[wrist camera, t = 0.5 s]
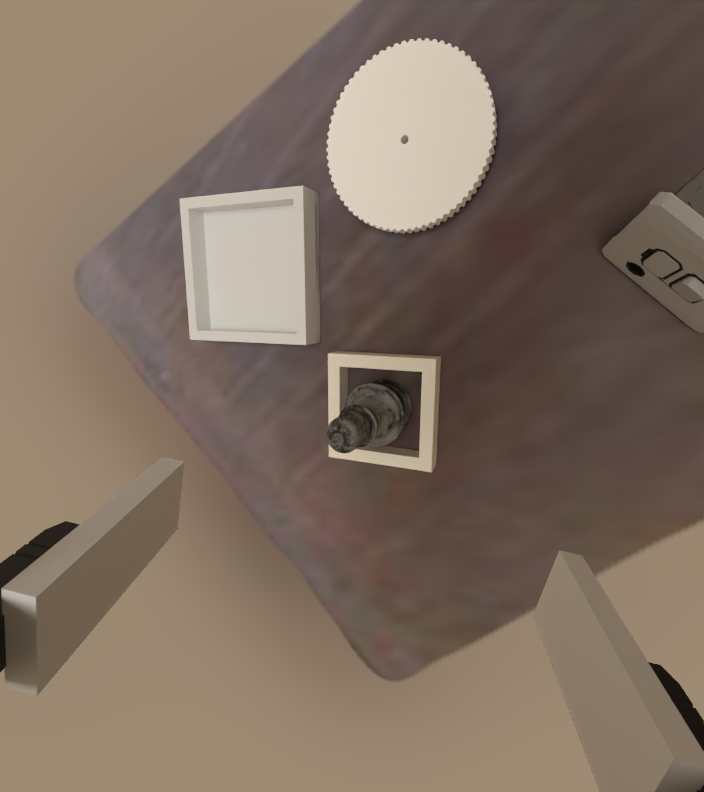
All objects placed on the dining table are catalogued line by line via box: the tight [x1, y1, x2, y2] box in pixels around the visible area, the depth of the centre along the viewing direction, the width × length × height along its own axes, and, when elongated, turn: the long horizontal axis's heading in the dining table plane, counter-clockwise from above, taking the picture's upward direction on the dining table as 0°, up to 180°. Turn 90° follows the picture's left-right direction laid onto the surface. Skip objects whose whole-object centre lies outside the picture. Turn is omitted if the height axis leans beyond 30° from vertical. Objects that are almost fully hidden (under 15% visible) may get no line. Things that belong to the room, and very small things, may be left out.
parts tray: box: [180, 186, 320, 345], centre depth 45 cm, size 14×14×3 cm
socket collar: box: [328, 351, 441, 472], centre depth 43 cm, size 10×10×2 cm
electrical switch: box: [602, 168, 704, 333], centre depth 29 cm, size 9×5×9 cm, turn 49°
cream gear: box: [327, 38, 497, 234], centre depth 37 cm, size 14×14×2 cm
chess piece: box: [326, 380, 412, 453], centre depth 38 cm, size 6×6×12 cm
